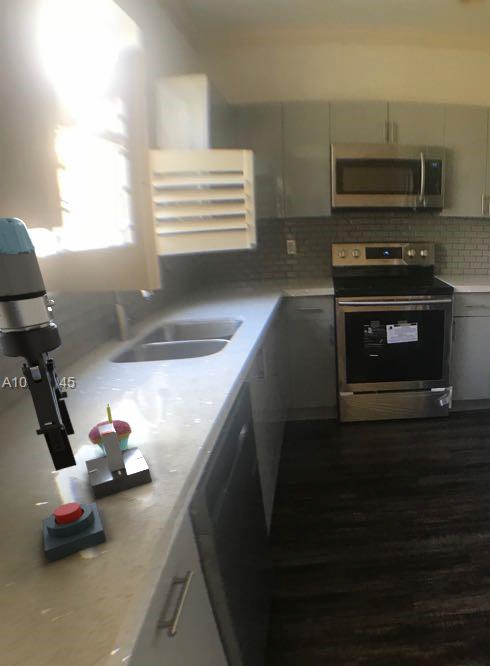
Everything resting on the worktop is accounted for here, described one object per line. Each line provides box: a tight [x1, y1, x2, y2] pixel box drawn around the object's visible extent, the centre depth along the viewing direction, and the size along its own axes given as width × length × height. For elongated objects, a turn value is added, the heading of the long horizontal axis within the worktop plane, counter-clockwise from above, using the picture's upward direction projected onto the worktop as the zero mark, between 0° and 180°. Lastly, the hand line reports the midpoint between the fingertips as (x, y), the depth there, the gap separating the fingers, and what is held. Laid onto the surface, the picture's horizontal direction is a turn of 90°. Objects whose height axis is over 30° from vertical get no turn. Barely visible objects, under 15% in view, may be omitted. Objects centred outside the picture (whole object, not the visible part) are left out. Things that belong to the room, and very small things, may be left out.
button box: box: [42, 501, 107, 563], centre depth 77 cm, size 10×8×4 cm
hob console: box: [85, 446, 153, 500], centre depth 94 cm, size 12×10×3 cm
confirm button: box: [53, 501, 82, 524], centre depth 76 cm, size 4×4×2 cm
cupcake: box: [87, 403, 132, 455], centre depth 104 cm, size 9×8×12 cm
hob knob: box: [98, 423, 125, 472], centre depth 92 cm, size 6×3×8 cm, turn 37°
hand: (66, 450), depth 77 cm, fingers open, 13 cm apart
